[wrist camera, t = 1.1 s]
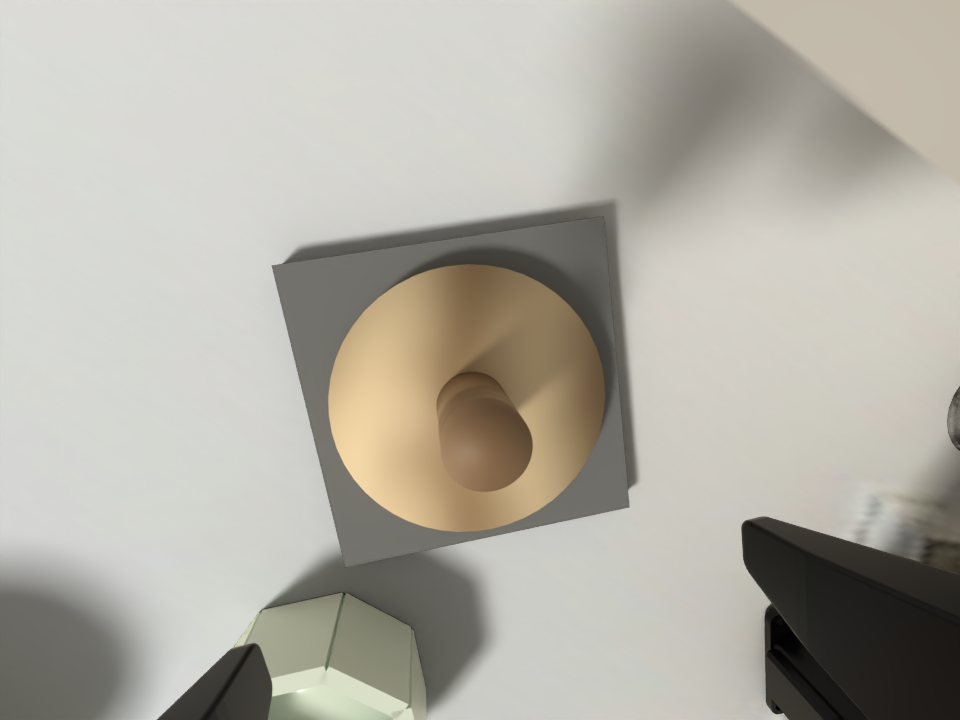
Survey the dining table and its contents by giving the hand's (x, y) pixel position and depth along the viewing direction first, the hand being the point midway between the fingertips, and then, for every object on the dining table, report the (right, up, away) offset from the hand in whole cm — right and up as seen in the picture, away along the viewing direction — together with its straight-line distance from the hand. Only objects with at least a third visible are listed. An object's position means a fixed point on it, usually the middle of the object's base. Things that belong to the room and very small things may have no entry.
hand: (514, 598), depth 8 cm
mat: (-1, +3, +12) cm, 12 cm away
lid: (-1, +3, +11) cm, 11 cm away
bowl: (-8, -11, +14) cm, 19 cm away
